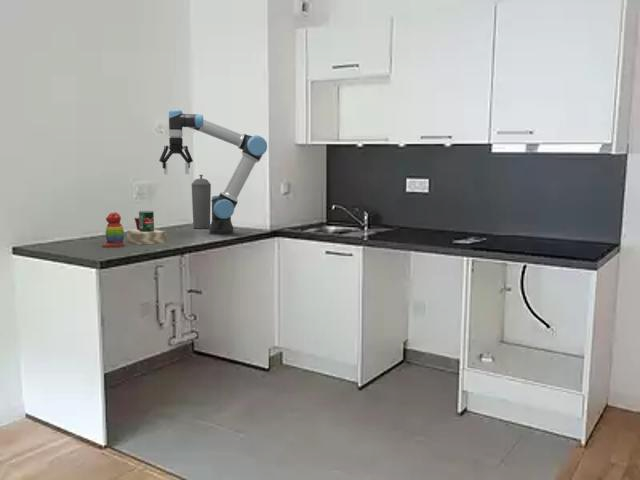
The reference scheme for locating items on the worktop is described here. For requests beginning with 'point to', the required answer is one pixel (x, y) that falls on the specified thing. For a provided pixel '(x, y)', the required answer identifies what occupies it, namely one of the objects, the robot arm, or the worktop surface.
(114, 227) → the stacking bear
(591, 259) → the worktop surface
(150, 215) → the canned tomato
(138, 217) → the plastic cup
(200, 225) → the canister
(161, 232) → the base block
